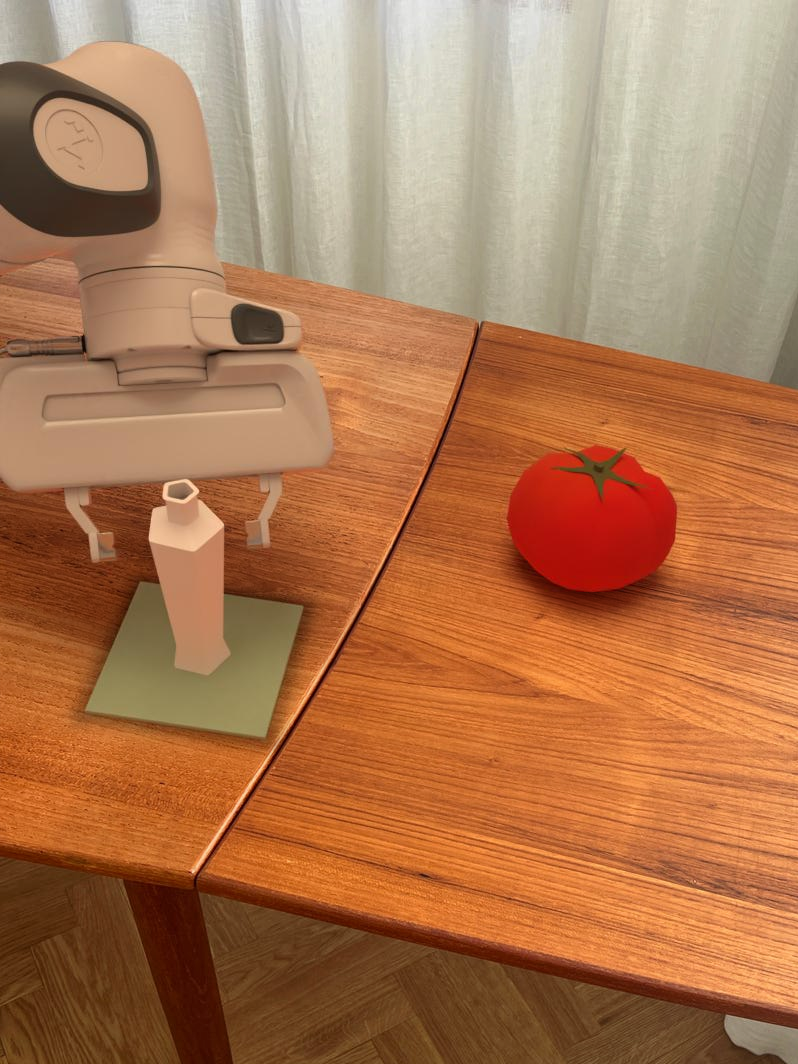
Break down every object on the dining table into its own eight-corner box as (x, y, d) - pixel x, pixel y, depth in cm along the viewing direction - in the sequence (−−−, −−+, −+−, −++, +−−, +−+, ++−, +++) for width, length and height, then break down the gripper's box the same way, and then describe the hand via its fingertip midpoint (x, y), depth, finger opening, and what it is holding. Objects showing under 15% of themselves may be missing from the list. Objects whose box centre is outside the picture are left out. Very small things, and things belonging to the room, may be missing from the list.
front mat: (85, 715, 76) (84, 710, 75) (140, 586, 84) (139, 580, 83) (265, 742, 76) (265, 737, 75) (303, 610, 84) (303, 605, 83)
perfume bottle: (152, 648, 79) (123, 485, 68) (207, 620, 81) (188, 457, 70) (188, 690, 77) (164, 529, 66) (244, 660, 79) (230, 499, 68)
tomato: (662, 629, 86) (694, 530, 79) (494, 605, 86) (510, 504, 78) (660, 527, 94) (690, 428, 86) (506, 506, 93) (522, 404, 86)
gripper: (-31, 330, 66) (-1, 570, 67) (325, 315, 71) (347, 540, 72) (-12, 349, 72) (16, 569, 73) (315, 334, 77) (336, 542, 78)
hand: (183, 555), depth 73 cm, fingers open, 8 cm apart
